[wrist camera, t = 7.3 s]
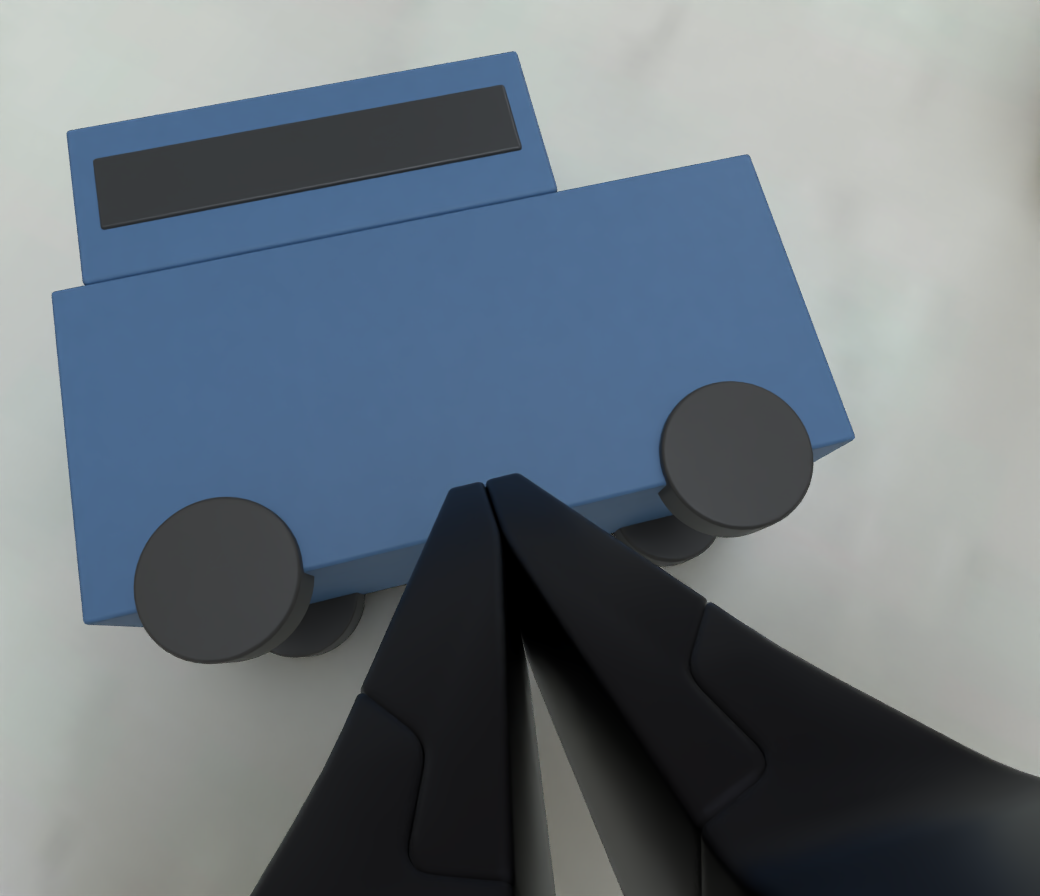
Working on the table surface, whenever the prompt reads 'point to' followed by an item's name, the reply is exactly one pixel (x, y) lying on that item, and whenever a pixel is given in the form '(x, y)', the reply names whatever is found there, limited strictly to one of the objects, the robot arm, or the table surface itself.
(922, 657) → the table surface
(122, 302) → the toy van
